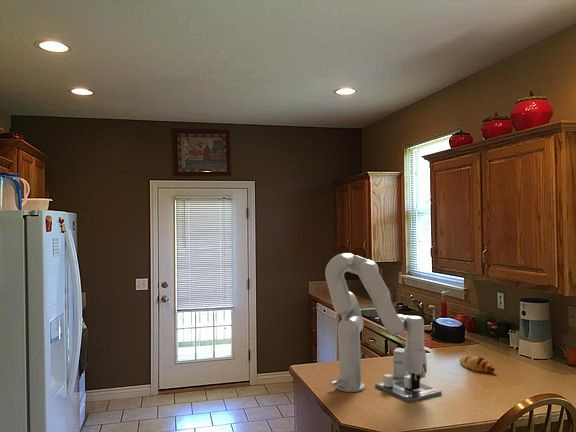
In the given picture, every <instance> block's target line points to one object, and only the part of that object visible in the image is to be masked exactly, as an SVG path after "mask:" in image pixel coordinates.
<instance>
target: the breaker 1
mask: <svg viewBox="0 0 576 432" xmlns="http://www.w3.org/2000/svg"><path fill="white" fill-rule="evenodd" d="M382 376H383V381H382V382H383V385H384V386H386V387H392V386H393V380H394V375H392V374H390V373H386V374H383V375H382Z"/></svg>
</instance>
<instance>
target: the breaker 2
mask: <svg viewBox="0 0 576 432" xmlns="http://www.w3.org/2000/svg"><path fill="white" fill-rule="evenodd" d="M404 387H406V388H408V389H410V388H412V379H411V378H410V375H408V376H404Z"/></svg>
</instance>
